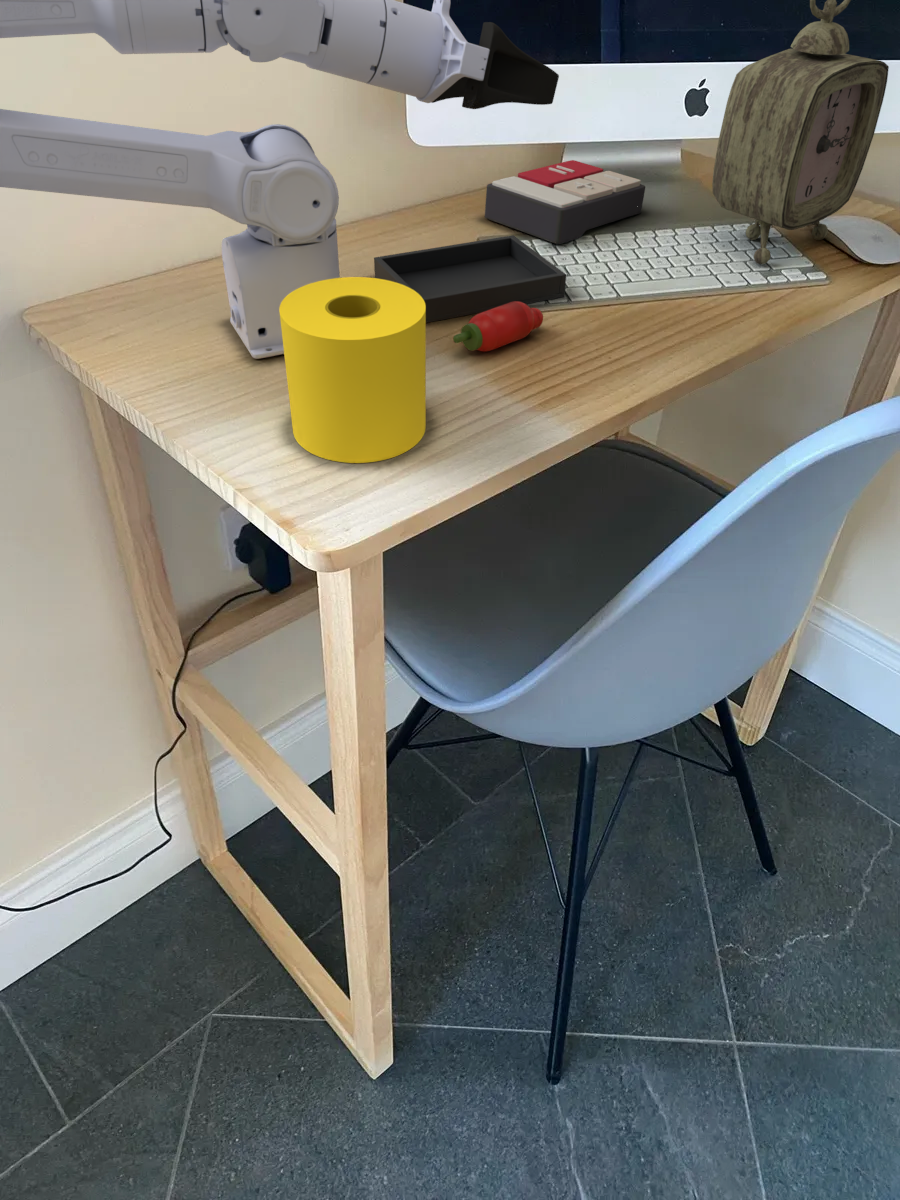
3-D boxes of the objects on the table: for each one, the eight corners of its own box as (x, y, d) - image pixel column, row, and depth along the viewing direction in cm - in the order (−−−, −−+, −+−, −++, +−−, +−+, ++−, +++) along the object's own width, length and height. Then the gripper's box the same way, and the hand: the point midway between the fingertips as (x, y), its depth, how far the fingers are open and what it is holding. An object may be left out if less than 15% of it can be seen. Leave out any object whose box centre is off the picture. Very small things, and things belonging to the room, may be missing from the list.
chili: (465, 368, 76) (467, 332, 74) (441, 353, 78) (442, 318, 75) (551, 335, 81) (555, 300, 79) (526, 321, 83) (529, 287, 80)
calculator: (648, 178, 102) (563, 202, 93) (641, 218, 104) (558, 245, 96) (572, 155, 107) (485, 176, 99) (567, 194, 110) (482, 217, 101)
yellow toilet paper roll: (449, 440, 68) (452, 320, 61) (326, 477, 64) (315, 352, 57) (388, 382, 74) (385, 267, 68) (272, 412, 70) (257, 293, 64)
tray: (417, 324, 82) (417, 301, 80) (374, 279, 89) (373, 257, 87) (564, 297, 87) (566, 274, 85) (512, 256, 94) (513, 234, 92)
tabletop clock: (763, 275, 91) (838, -25, 75) (691, 248, 96) (746, -38, 80) (841, 241, 98) (926, -39, 82) (770, 217, 103) (836, -51, 87)
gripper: (416, -29, 60) (589, 29, 66) (356, -18, 72) (508, 31, 77) (395, 90, 63) (562, 136, 69) (341, 83, 75) (488, 122, 80)
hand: (532, 87), depth 73 cm, fingers open, 7 cm apart
